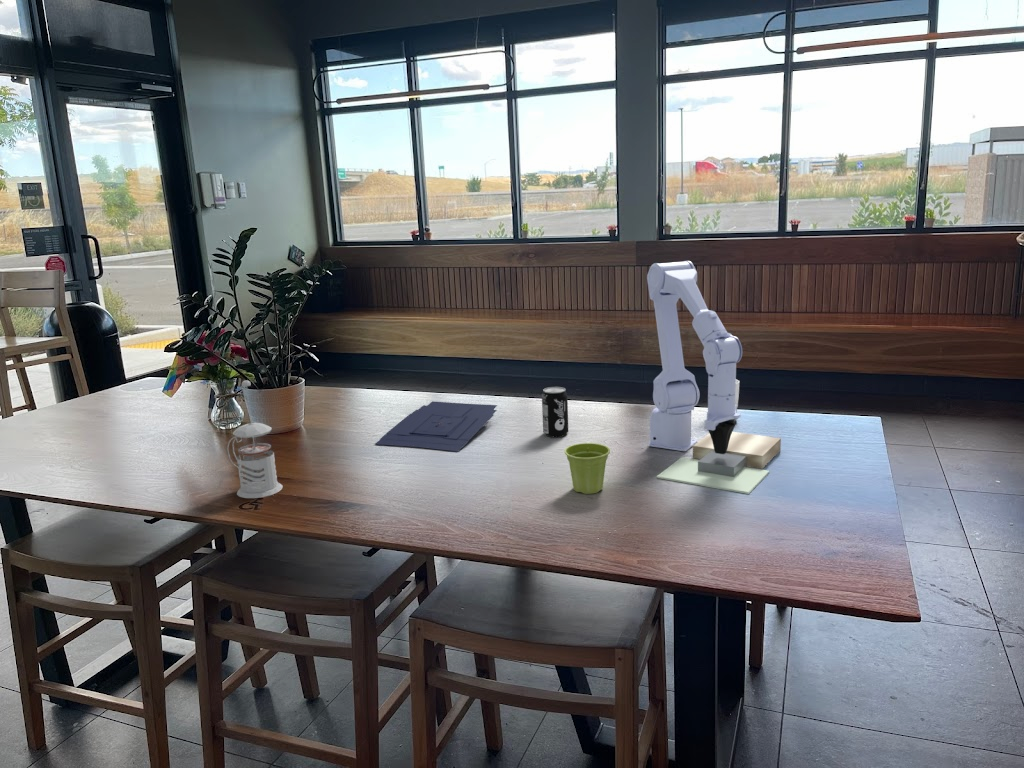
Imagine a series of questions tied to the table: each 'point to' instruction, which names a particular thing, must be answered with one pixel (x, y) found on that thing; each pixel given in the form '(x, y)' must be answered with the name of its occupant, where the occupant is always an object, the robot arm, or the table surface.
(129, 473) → the table surface
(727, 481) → the mat
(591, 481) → the plant pot
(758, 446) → the board
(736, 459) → the tile
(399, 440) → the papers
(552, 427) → the beverage can
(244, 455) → the french press
